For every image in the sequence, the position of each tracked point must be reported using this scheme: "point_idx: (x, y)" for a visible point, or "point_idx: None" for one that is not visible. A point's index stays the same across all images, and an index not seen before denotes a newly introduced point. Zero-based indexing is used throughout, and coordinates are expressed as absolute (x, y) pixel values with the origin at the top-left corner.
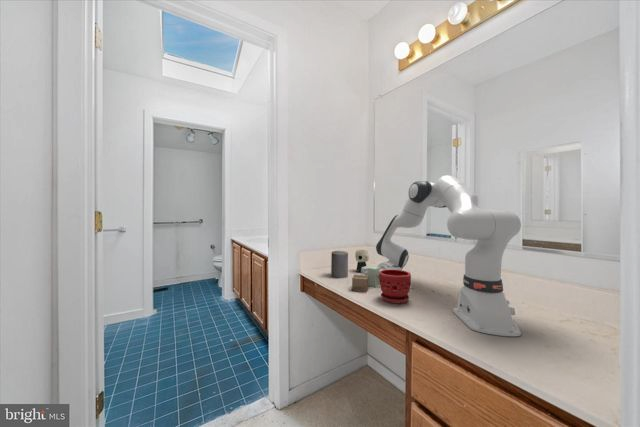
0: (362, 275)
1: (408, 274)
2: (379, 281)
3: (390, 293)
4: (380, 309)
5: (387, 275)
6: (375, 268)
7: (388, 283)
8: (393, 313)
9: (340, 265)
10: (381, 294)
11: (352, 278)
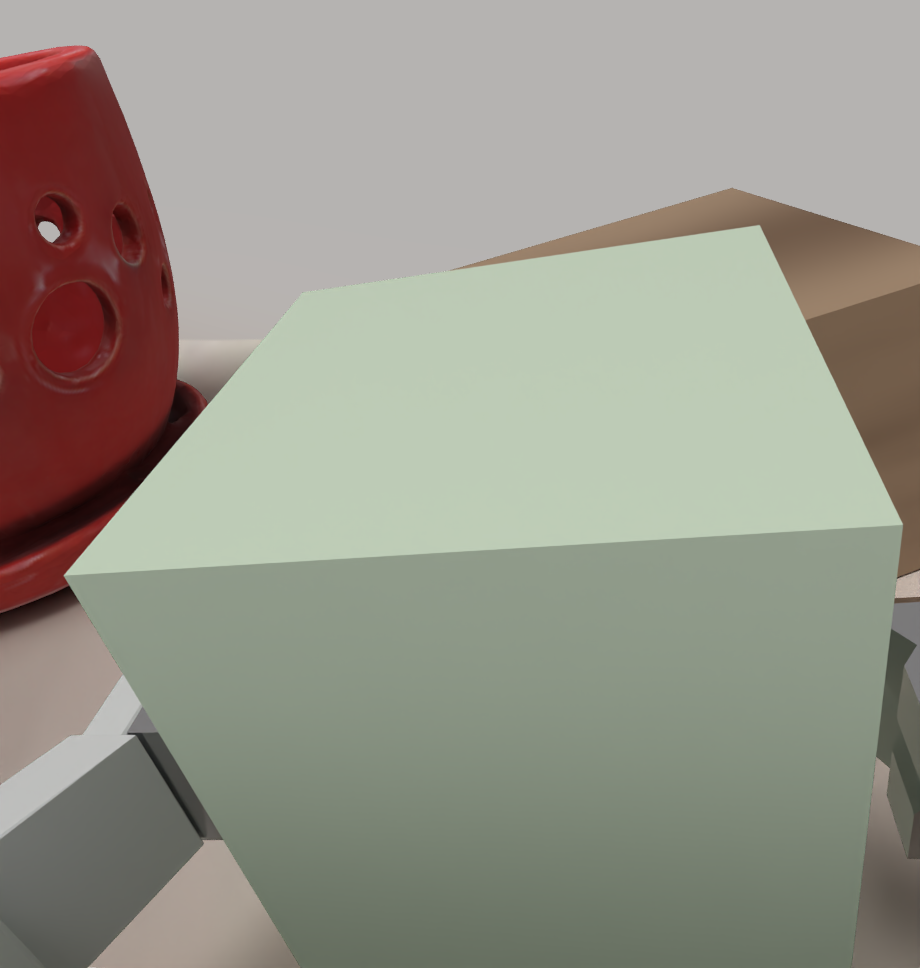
0: None
1: None
2: (152, 202)
3: (61, 317)
4: (213, 341)
5: None
6: (320, 340)
7: (18, 404)
8: None
9: None
10: (199, 402)
11: (728, 196)
